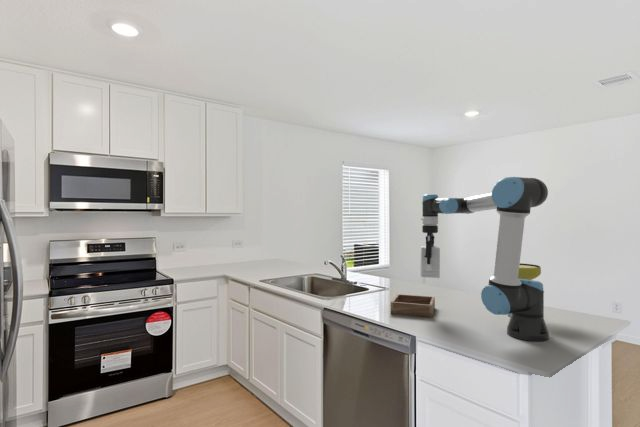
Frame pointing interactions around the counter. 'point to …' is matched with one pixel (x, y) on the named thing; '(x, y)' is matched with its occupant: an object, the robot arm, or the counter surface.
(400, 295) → the walnut box
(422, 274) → the supplement box
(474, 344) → the counter surface
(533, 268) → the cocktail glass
